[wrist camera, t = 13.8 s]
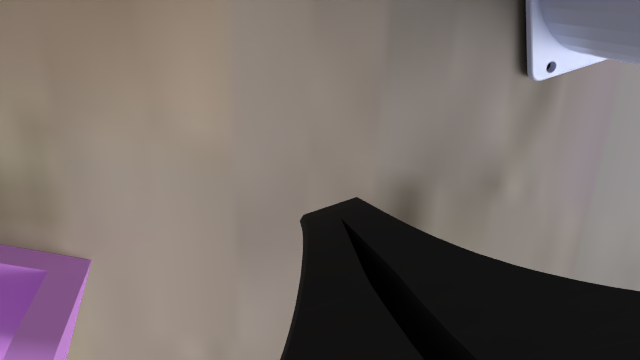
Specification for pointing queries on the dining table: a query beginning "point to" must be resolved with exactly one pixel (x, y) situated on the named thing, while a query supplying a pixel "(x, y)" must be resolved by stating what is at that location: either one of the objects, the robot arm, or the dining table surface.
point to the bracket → (38, 302)
